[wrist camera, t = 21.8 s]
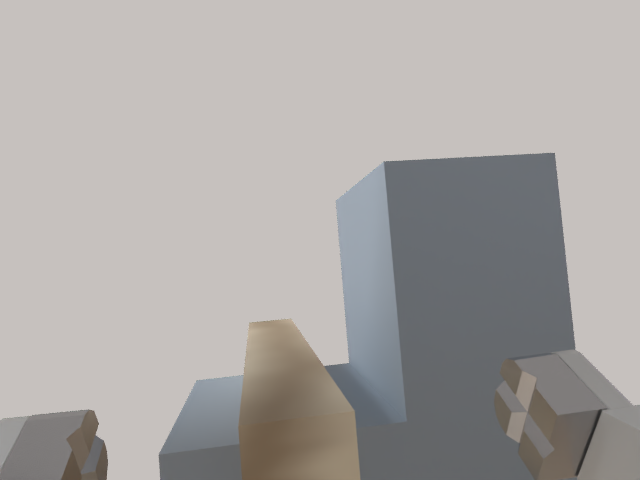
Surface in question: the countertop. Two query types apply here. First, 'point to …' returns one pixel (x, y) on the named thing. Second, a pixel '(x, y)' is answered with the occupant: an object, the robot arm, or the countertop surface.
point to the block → (292, 411)
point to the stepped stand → (424, 320)
